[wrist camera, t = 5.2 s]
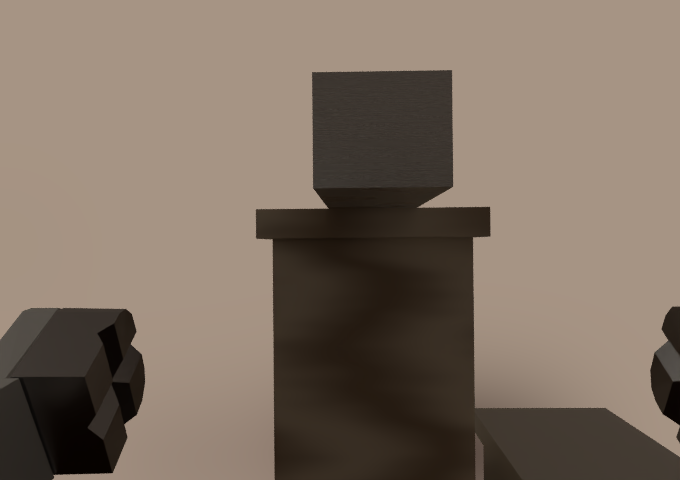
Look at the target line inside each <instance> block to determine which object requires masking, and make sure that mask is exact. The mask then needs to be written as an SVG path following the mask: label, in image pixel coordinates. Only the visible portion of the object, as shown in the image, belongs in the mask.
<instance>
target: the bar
mask: <svg viewBox="0 0 680 480" xmlns="http://www.w3.org/2000/svg"><path fill="white" fill-rule="evenodd" d="M312 88H313V89H312V94H313V95H312V96H313V189H314V190H315V191H316V192H317V194H318V195H319V196H320V198H321V199H322V200H323V202H324V203H325V204H326V205H327V207H328V208H329V209H350V208H417V207H419V206H421V205H422V204H424V203H425V202H427V201H429V200H431V199H433V198H434V197H436V196H438V195H440V194H441V193H443V192H445V191H447V190H448V189H450V188H452V187H453V142H452V139H453V138H452V137H453V136H452V135H453V134H452V70H447V71H444V70H443V71H441V70H440V71H379V72H378V71H376V72H317V73H316V72H312Z"/></svg>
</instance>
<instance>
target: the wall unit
mask: <svg viewBox="0 0 680 480" xmlns="http://www.w3.org/2000/svg"><path fill="white" fill-rule="evenodd" d="M488 236H490V207H458V208H457V207H449V208H448V207H446V208H350V209H259V210H258V209H257V210H256V238H257V239H273V325H274V326H273V328H274V329H273V331H274V437H275V438H274V444H275V445H274V449H275V450H274V451H275V480H475V397H474V300H473V299H474V297H473V237H488Z"/></svg>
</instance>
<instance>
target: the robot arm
mask: <svg viewBox="0 0 680 480" xmlns="http://www.w3.org/2000/svg"><path fill="white" fill-rule="evenodd" d="M662 331H663V332H664V334H665V336H666V337H667V339H668V341H667V342H666V343H665V344H664V345H663V346H662V347H661V348H659V349H658V350H657V351H656V352H655V353H654V358H653V362H652V366H651V370H650V371H651V387H652V391H653V394H654V397H655V400H656V402H657V404H658V406H659V408H660V410H661V412H662V413H663V414H664V415H665V416H667V417H668V418H670V419H671V420H673V421H674V422H676V423H677V424H679V425H680V307H672V308H671V309H670V310H669V312H668V313H667V315H666V316H665V319H664V323H663V326H662ZM135 333H136V328H135V324H134V320H133V317H132V314H131V313H130V312H129V311H128V310H126V309H87V308H86V309H85V308H84V309H83V308H63V309H60V308H31V309H28V310H25V311H23V312H22V313H21V314H20V316H19V317H18V318H17V319H16V321H15V322H14V323H13V325H12V326H11V327H10V328H9V330H8V331H7V332H6V334H5V335H4V336H3V337H2V339H1V340H0V480H52V479H53V478H54V476H53V475H58V474H60V475H63V474H100V473H113V471H114V469H115V466H116V464H117V461H118V459H119V456H120V454H121V451H122V449H123V447H124V444H125V442H126V440H127V434H126V430H125V426H124V424H125V423H126V422H128V421H129V420H130V419H132V418H133V417H134V416H136V415H137V412H138V410H139V407H140V405H141V402H142V398H143V391H144V385H145V374H144V364H143V359H142V354H140V353H139V352H138V351H137V350H136V349H135V348H134V347H133V346H132V345H131V342H132V340H133V338H134V335H135ZM677 439H678V441H679V442H680V428H679V431H678V434H677Z"/></svg>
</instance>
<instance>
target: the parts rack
mask: <svg viewBox="0 0 680 480" xmlns="http://www.w3.org/2000/svg"><path fill="white" fill-rule="evenodd" d="M475 433H476V434H477V436H478V437H479V439H480V441H481V442H482V444H483V445H484V480H680V457H679V456H677V455H676V454H674V453H673V452H671V451H670V450H668V449H666V448H665V447H664V446H662V445H660V444H659V443H657V442H656V441H654V440H653V439H651V438H650V437H648V436H647V435H645V434H644V433H642V432H641V431H639V430H638V429H636V428H635V427H633V426H631V425H630V424H629V423H627V422H625V421H624V420H623V419H621V418H619V417H618V416H616V415H615V414H613V413H612V412H610V411H609V410H607V409H606V408H486V409H485V408H484V409H483V408H478V409H477V408H475Z"/></svg>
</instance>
